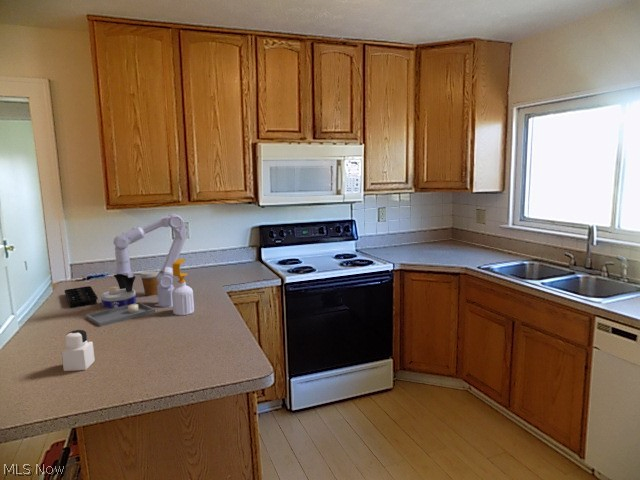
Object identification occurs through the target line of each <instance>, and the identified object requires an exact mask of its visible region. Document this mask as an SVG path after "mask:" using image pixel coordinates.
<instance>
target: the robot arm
mask: <svg viewBox="0 0 640 480" xmlns="http://www.w3.org/2000/svg"><path fill="white" fill-rule="evenodd" d="M169 227H170V228H171V229H172V232H173V233H174V239H173V240H172V243H171V245H170V248H169V251H168V253H167V257H166V258H165V262H164V264H163V266H162V267H161V269H160V271H159V273H158V274H157V276H156V280H157V282H158V283H159V284H158V286H157V293H158V294H157V301H158V303H156V304H154V306H155V307H162V308H163V307H164V308H171V307H172V308H173V301H172V291H173V290H174V289H175V288H176V287H175V286H174V284H173V282H174V280H173V277H174V275H173V267H172V265H173V263H174V262H175V261H177V260H178V259H179V258H180V257H179V256H180V254H181V252H182V249H183V247H184V243H185V242H186V238H187V235H188V234H187V233H188V232H187V229H186V222H185V221H184V219H183V217H182V216H180V215H178V214H177V213H169V214H168V215H164V216H162V217H160V218H158V219H156V220H154V221H152V222H150V223H148V224H147V225H144V226H143V227H140V226H133V227H131V229H130V230H128V231H126V232H122V233H121V234H119V235H116V236H115V237H114V239H113V244H114V251H115V253H114V255H115V264H116V268H115V271H114V274H113V277H114V278H115V280H116V282H117V284H118V288H119V289H126V291H127V292H131V291H132V289H133V287H134V282H135V279H136V276H135V275H134V274H133V272H132V269H131V260H130V251H129V245H133V244H134V243H136V242H138V241H140V240H142V239H144V238H145V235H146V234H149V233H150V232H151V233H152V232H153V231H155V230H158V229H159V228H169Z"/></svg>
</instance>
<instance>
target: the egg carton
mask: <svg viewBox="0 0 640 480" xmlns="http://www.w3.org/2000/svg"><path fill="white" fill-rule="evenodd" d="M64 295H65V297H66V299H67V303H68V305H69V307H70V308H71V309H76V308H81V307H82V306H93V305H96V304H98V302H97V300H98V296H97V294H96V293H95V291H94V289H93V287H92V286H90V285H87V286H80V287H75V288H68V289H67V288H66V289H64Z"/></svg>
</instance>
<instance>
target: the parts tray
mask: <svg viewBox="0 0 640 480" xmlns="http://www.w3.org/2000/svg"><path fill="white" fill-rule="evenodd" d="M134 304H138V308H139V312H137V313H133V314H130V313H128V305H126V306H121V307H117V308H108V309H106V310H100V311H96V312H93V313H88V314H86V315H85V316H86V317H85V318H86V319H87V320H89V321H90V322H91V323H93V324H95V325H96V326H98V327H104V326H107V325H112V324H115V323H119V322H124V321H127V320H130V319H135V318H138V317H142V316H147V315H150V314H154V313H156V308H154V307H151V306H149V305H147V304H145V303H142V302H140V301H139V302H136V303H134Z"/></svg>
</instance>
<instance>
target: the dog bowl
mask: <svg viewBox="0 0 640 480" xmlns="http://www.w3.org/2000/svg"><path fill="white" fill-rule="evenodd" d="M118 289H119V294H117V295H109V291H106V292H104V293H102V294H101V295H100V299H101V306H102V308H104V309H113V308H117V307H121V306H126V305H130V304H134V303H137V295H136V290H135V289H133V288H132V291H131V292H127V291H126V288H125V289H120V288H118Z"/></svg>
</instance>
